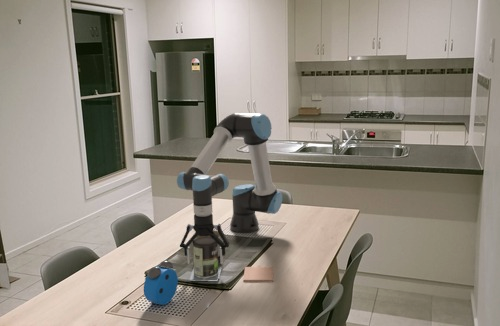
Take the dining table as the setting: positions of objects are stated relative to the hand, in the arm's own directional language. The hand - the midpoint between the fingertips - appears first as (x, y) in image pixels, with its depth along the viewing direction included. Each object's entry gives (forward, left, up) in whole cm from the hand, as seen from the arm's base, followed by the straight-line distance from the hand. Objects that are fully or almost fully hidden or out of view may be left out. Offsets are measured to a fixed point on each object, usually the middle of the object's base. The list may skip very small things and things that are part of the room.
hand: (205, 262), depth 192 cm
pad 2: (0, +22, -6) cm, 23 cm away
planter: (-18, -1, -6) cm, 19 cm away
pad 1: (0, 0, -6) cm, 6 cm away
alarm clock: (+22, -13, -6) cm, 26 cm away
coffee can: (0, 0, -5) cm, 5 cm away
